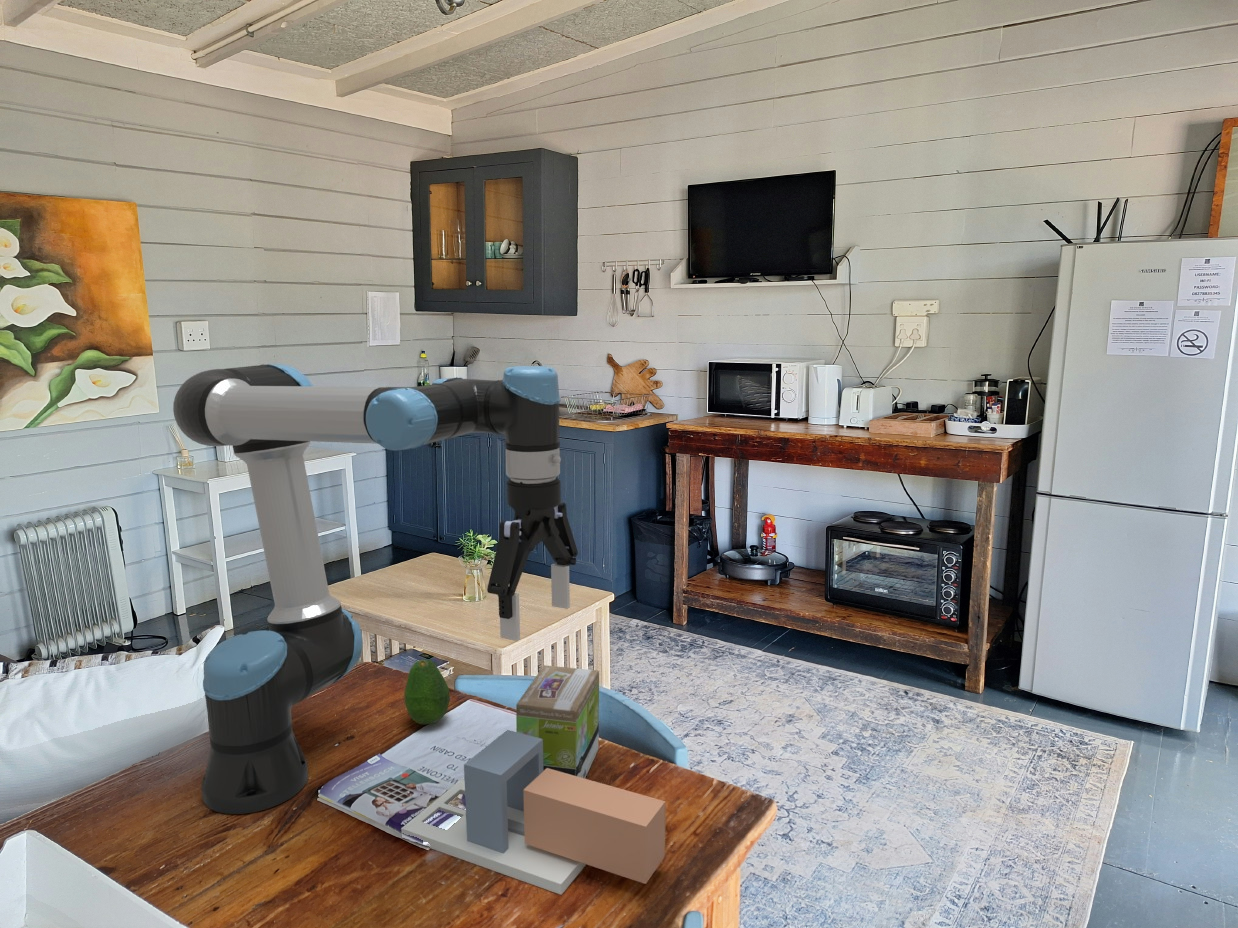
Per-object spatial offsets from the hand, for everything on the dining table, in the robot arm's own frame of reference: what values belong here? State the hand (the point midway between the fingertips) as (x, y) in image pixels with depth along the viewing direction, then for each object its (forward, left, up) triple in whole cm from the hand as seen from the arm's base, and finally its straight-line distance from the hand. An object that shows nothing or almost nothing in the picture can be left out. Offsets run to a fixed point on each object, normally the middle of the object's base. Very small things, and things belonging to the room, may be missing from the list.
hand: (536, 622), depth 121 cm
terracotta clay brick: (+14, -9, -26) cm, 31 cm away
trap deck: (0, -9, -29) cm, 30 cm away
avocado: (-31, +12, -29) cm, 44 cm away
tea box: (-2, +9, -29) cm, 30 cm away
